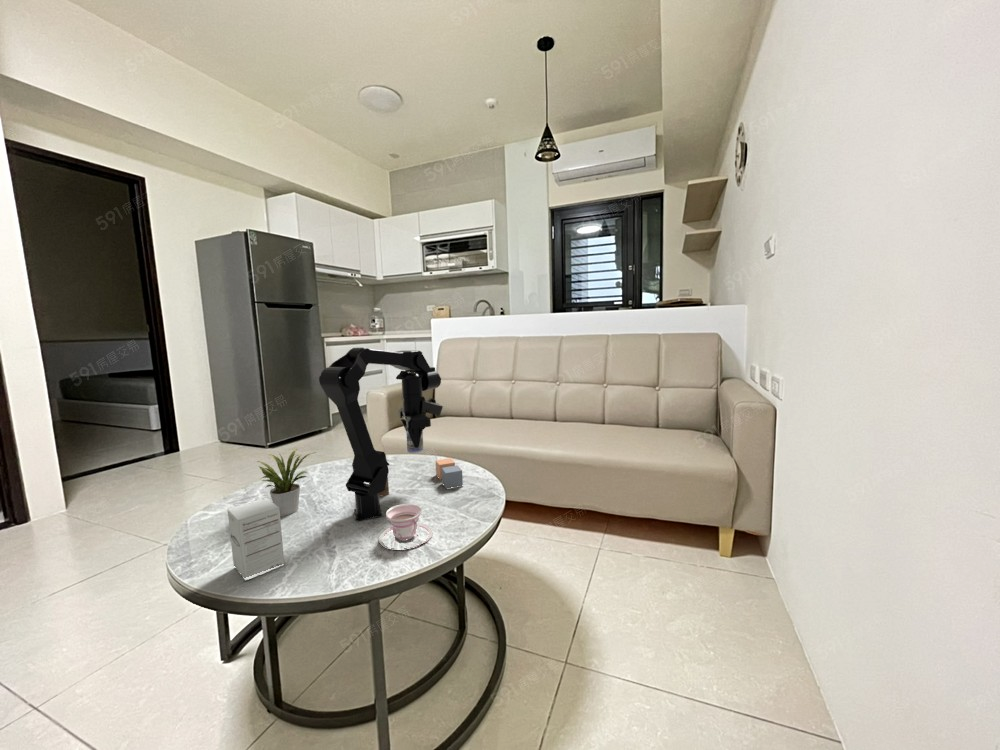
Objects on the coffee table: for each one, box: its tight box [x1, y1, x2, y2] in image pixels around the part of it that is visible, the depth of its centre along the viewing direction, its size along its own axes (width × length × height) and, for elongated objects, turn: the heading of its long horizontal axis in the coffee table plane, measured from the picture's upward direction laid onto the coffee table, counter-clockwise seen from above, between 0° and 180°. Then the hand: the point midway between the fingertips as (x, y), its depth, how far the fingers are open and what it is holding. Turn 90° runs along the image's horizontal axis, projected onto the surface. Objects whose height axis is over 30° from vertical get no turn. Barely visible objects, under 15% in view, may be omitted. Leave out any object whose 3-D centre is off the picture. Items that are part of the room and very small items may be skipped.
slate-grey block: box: [441, 464, 464, 490], centre depth 119 cm, size 5×5×5 cm
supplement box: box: [227, 497, 285, 578], centre depth 79 cm, size 7×7×13 cm
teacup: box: [378, 503, 434, 549], centre depth 89 cm, size 12×12×6 cm
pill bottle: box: [405, 430, 424, 454], centre depth 117 cm, size 5×5×8 cm
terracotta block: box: [435, 457, 456, 481], centre depth 126 cm, size 5×5×5 cm
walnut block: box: [368, 477, 390, 497], centre depth 115 cm, size 5×5×5 cm
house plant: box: [256, 448, 317, 517], centre depth 105 cm, size 14×14×16 cm
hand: (415, 445), depth 117 cm, fingers closed on pill bottle, 5 cm apart
